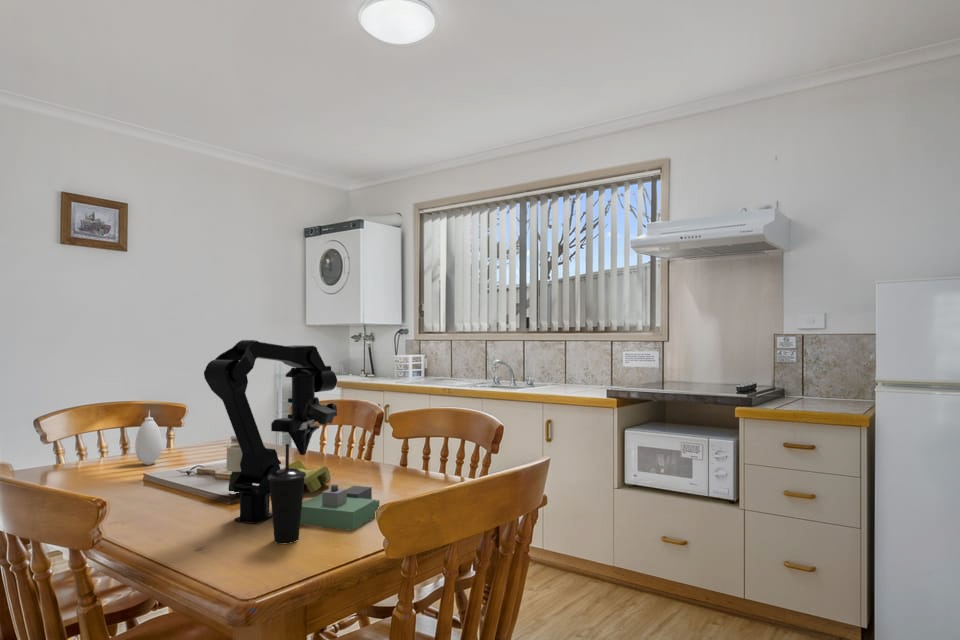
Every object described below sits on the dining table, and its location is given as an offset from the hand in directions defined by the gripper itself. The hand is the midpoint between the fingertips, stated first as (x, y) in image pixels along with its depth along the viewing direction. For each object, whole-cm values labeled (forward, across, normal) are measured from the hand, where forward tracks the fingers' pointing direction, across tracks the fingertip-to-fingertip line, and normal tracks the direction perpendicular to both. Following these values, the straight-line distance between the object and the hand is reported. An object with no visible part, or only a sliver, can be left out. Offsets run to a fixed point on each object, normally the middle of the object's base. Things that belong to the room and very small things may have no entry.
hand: (302, 454), depth 157 cm
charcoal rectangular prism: (+12, -2, -17) cm, 21 cm away
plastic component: (+12, +13, +9) cm, 20 cm away
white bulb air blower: (+12, +22, +74) cm, 78 cm away
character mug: (+12, +1, +20) cm, 23 cm away
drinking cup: (+12, -26, -14) cm, 32 cm away
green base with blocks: (+12, -7, -16) cm, 22 cm away
